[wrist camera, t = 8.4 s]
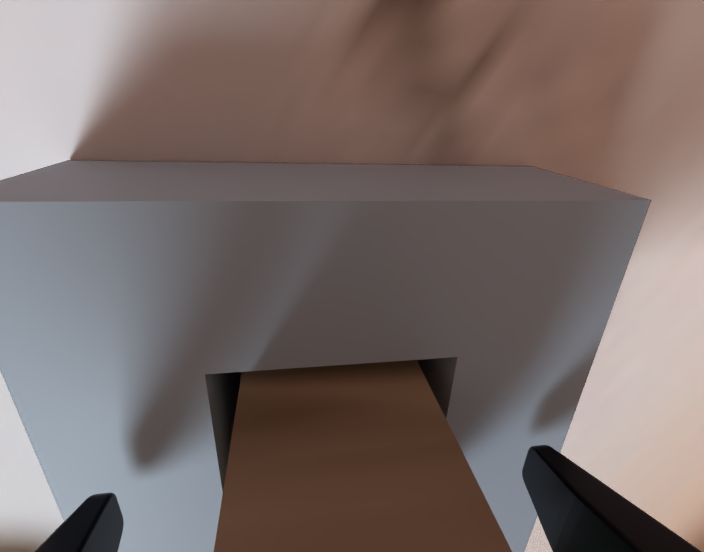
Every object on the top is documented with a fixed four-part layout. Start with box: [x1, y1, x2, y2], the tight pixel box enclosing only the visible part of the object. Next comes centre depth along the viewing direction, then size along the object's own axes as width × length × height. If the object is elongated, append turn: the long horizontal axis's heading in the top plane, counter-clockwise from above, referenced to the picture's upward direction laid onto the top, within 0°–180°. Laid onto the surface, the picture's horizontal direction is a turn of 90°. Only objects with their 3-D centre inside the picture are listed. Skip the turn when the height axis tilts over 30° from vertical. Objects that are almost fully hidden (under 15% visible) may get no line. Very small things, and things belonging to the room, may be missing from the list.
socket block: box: [0, 160, 651, 552], centre depth 11 cm, size 12×12×4 cm
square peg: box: [214, 360, 512, 552], centre depth 9 cm, size 4×4×9 cm
